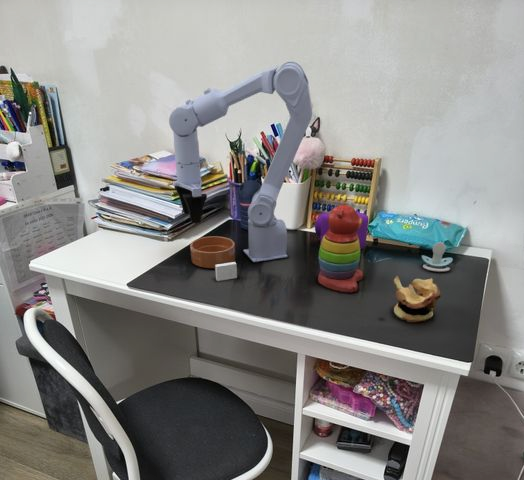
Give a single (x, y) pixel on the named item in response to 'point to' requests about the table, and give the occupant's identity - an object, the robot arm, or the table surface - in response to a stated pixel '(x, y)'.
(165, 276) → the table surface
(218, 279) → the eraser
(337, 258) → the stacking bear
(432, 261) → the pacifier
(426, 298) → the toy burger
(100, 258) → the table surface
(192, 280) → the table surface
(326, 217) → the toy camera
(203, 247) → the bowl
